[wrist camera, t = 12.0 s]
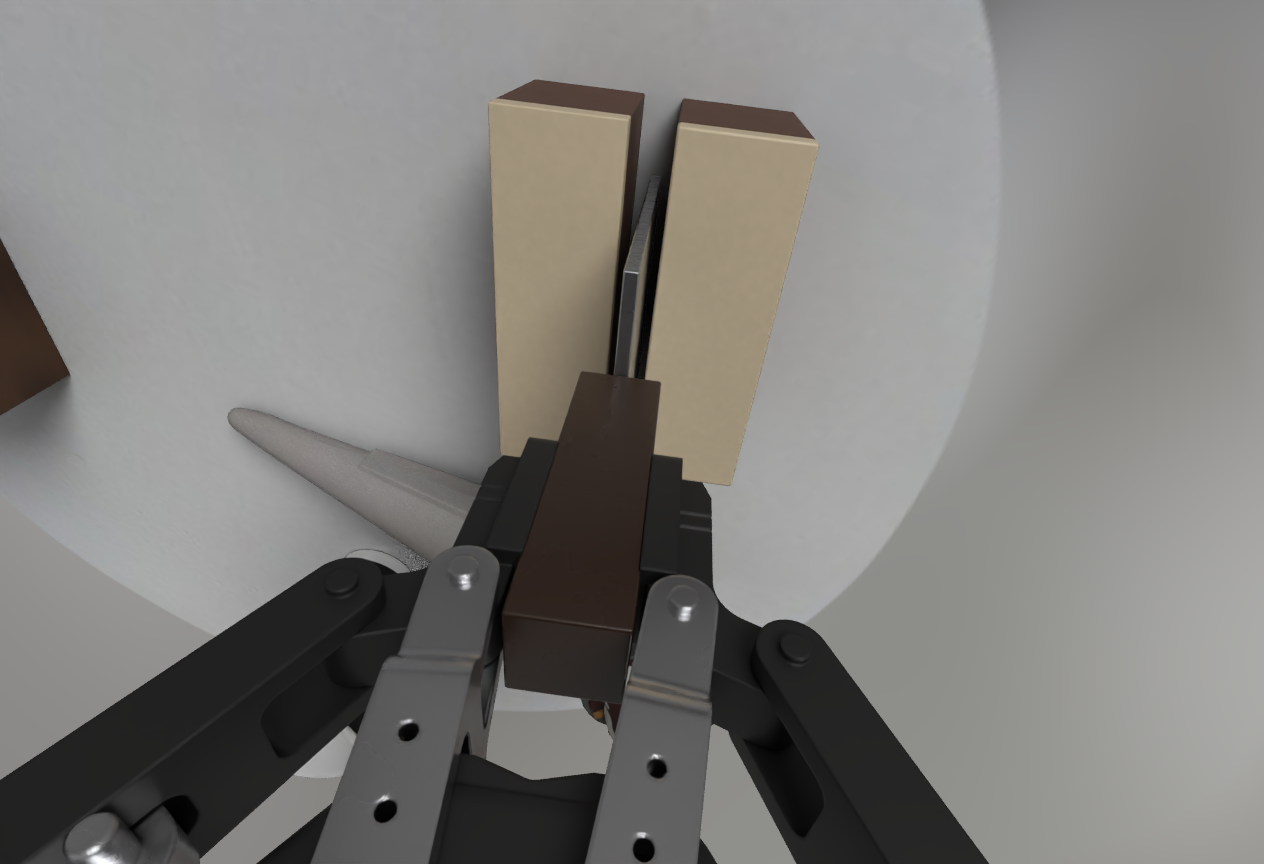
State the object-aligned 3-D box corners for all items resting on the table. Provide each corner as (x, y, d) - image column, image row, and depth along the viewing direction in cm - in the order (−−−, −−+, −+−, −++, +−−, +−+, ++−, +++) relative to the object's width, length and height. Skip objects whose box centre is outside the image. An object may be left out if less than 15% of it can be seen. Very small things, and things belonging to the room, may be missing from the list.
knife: (628, 171, 23) (493, 476, 8) (685, 178, 23) (655, 498, 8) (611, 358, 27) (507, 765, 13) (659, 364, 27) (610, 780, 13)
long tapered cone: (187, 524, 32) (523, 653, 33) (187, 425, 29) (557, 569, 30) (261, 469, 37) (551, 582, 38) (267, 381, 34) (582, 505, 35)
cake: (534, 78, 22) (487, 101, 17) (794, 112, 22) (820, 143, 17) (533, 381, 30) (500, 455, 25) (726, 407, 30) (731, 487, 25)
